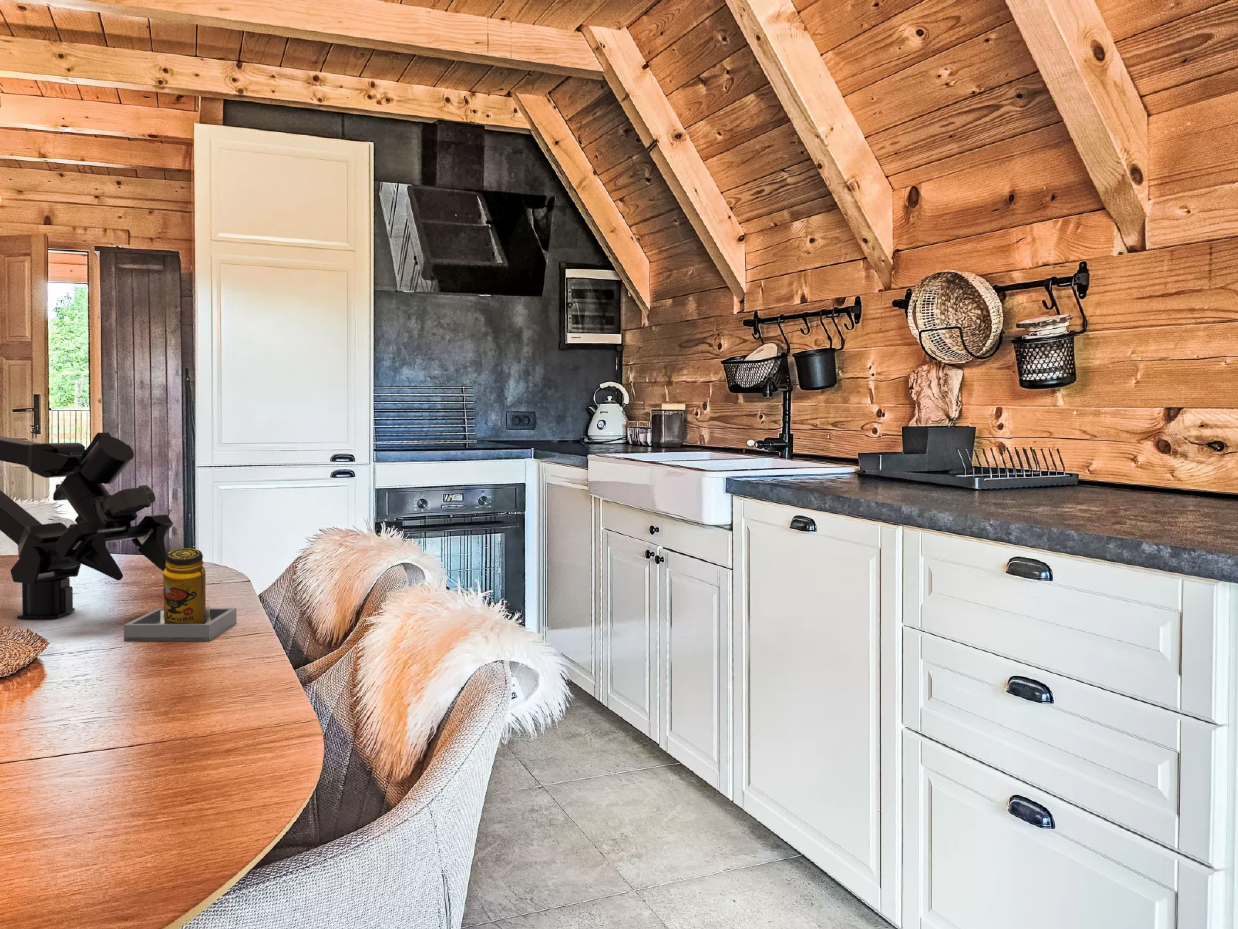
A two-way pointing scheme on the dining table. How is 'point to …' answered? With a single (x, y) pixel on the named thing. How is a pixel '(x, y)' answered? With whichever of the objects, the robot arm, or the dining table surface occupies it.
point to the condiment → (184, 588)
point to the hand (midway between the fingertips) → (144, 574)
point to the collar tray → (179, 627)
